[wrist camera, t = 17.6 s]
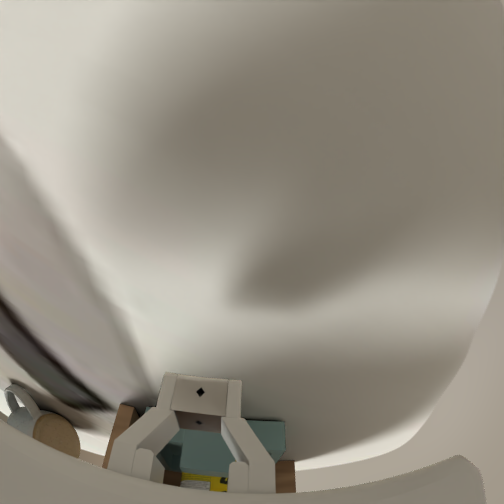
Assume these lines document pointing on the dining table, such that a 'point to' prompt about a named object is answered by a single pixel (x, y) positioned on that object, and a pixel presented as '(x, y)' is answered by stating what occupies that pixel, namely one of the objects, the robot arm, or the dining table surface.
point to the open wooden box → (128, 418)
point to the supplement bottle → (204, 482)
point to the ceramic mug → (41, 423)
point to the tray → (216, 449)
